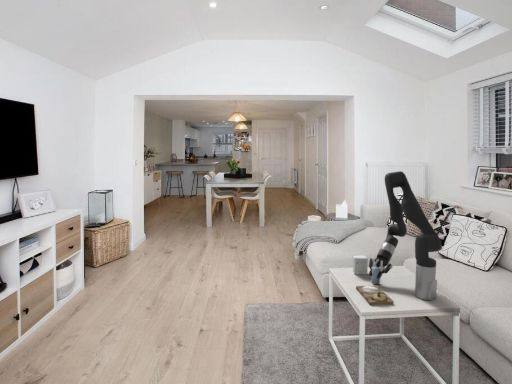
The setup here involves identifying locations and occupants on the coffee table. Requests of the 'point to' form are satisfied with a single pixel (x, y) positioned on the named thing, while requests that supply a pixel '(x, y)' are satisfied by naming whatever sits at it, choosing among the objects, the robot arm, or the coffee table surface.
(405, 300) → the coffee table surface
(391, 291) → the coffee table surface
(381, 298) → the gear board
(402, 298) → the coffee table surface
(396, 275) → the coffee table surface
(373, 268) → the blue-grey cylinder
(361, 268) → the small box
